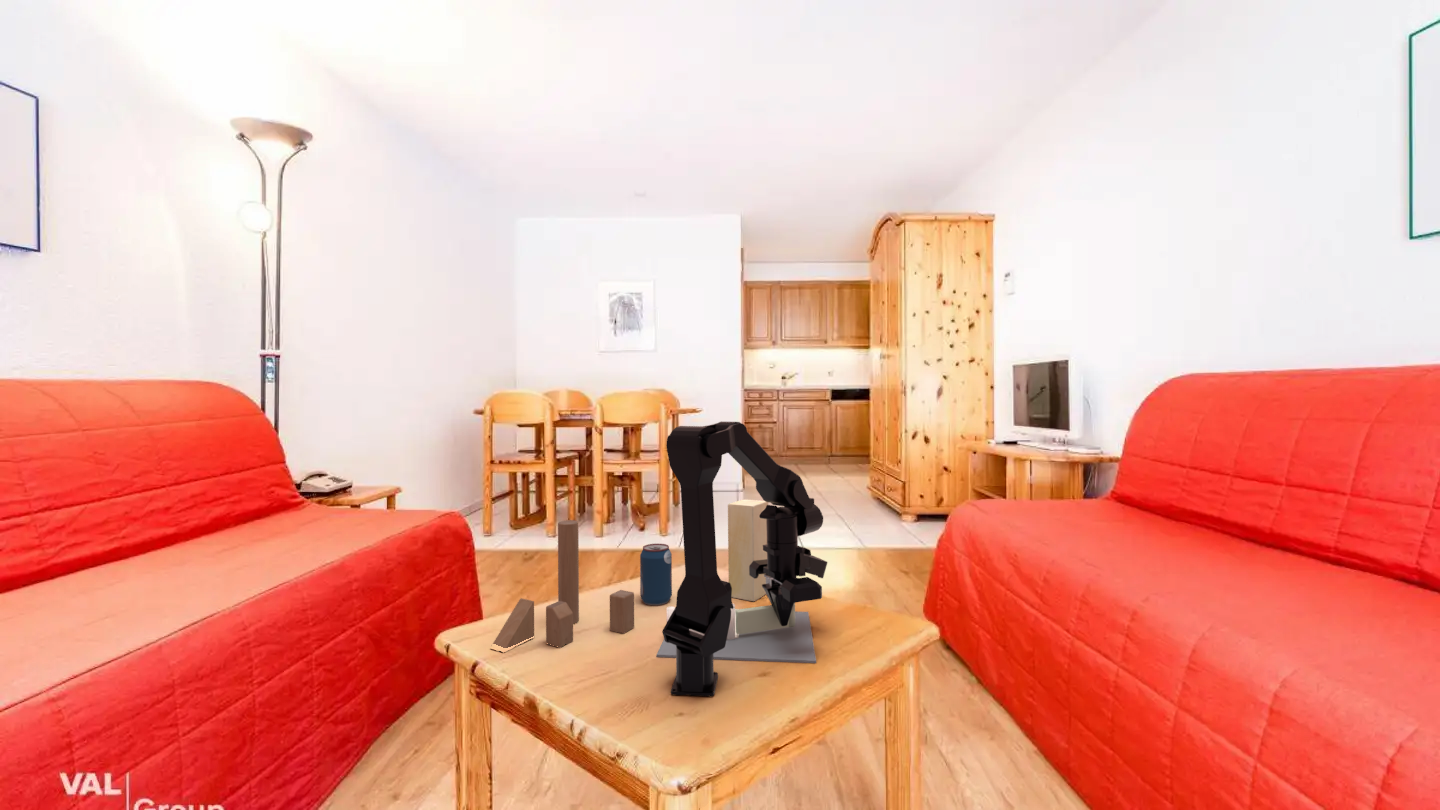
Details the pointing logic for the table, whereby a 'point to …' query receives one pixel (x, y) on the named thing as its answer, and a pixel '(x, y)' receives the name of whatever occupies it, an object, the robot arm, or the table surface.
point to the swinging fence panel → (760, 619)
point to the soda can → (655, 574)
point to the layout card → (761, 643)
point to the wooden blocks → (564, 601)
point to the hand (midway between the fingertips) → (784, 625)
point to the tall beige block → (746, 547)
